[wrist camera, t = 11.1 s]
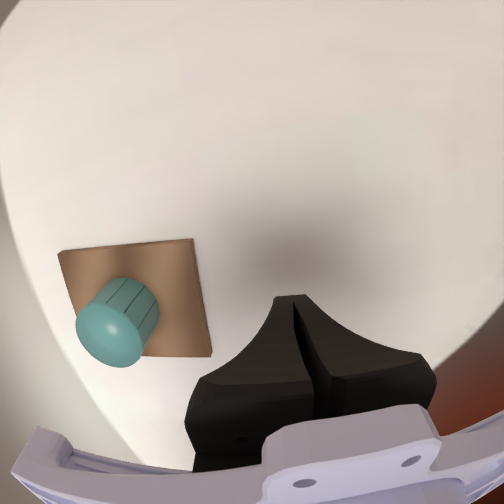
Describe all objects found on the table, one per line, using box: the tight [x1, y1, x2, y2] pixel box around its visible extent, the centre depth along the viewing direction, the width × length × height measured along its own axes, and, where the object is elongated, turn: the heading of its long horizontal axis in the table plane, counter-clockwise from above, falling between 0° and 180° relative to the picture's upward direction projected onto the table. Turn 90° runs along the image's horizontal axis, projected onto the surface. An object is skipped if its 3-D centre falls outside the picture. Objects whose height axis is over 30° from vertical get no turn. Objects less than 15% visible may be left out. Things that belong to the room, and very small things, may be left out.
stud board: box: [57, 239, 212, 357], centre depth 21 cm, size 12×10×4 cm
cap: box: [76, 277, 160, 368], centre depth 20 cm, size 5×5×4 cm
